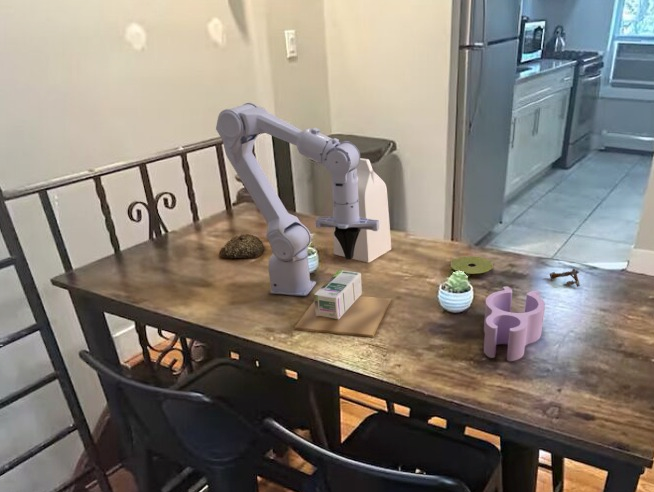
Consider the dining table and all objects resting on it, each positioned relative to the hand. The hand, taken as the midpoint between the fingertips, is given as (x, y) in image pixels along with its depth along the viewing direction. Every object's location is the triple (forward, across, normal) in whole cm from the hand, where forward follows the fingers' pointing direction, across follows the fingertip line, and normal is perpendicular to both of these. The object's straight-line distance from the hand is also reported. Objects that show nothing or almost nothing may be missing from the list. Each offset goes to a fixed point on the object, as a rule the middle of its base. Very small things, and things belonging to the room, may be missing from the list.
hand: (349, 257), depth 141 cm
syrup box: (+7, 0, +2) cm, 7 cm away
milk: (+10, -6, +29) cm, 31 cm away
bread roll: (+10, -39, +23) cm, 47 cm away
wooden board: (+10, +1, -9) cm, 14 cm away
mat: (+11, +27, +21) cm, 36 cm away
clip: (+11, +39, -11) cm, 42 cm away
